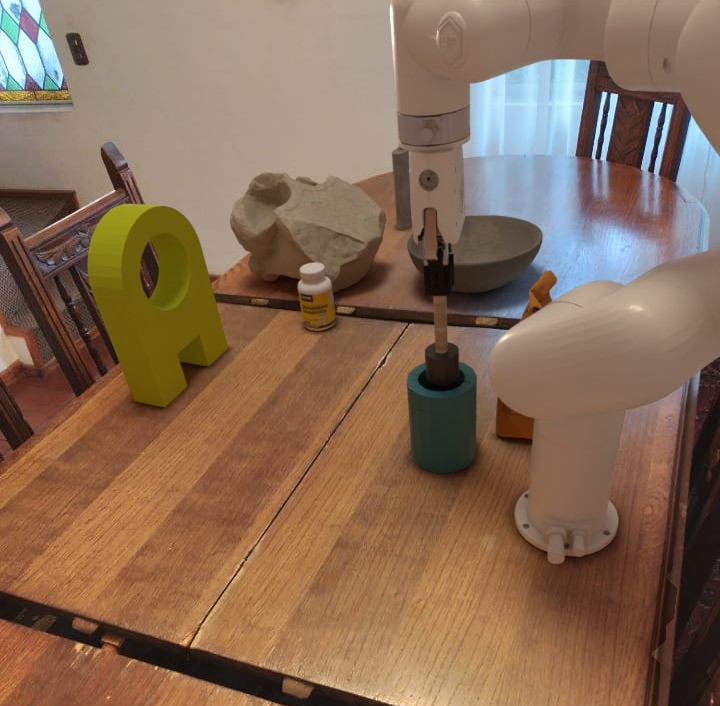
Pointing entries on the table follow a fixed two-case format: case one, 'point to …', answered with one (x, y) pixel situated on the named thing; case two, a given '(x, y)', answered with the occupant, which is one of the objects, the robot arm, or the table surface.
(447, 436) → the jar
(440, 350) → the scrub brush
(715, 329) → the robot arm
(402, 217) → the hip flask
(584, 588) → the table surface
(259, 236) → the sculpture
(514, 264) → the bowl
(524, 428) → the coffee package
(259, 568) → the table surface
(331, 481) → the table surface
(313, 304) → the pill bottle
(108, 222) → the decorative object
